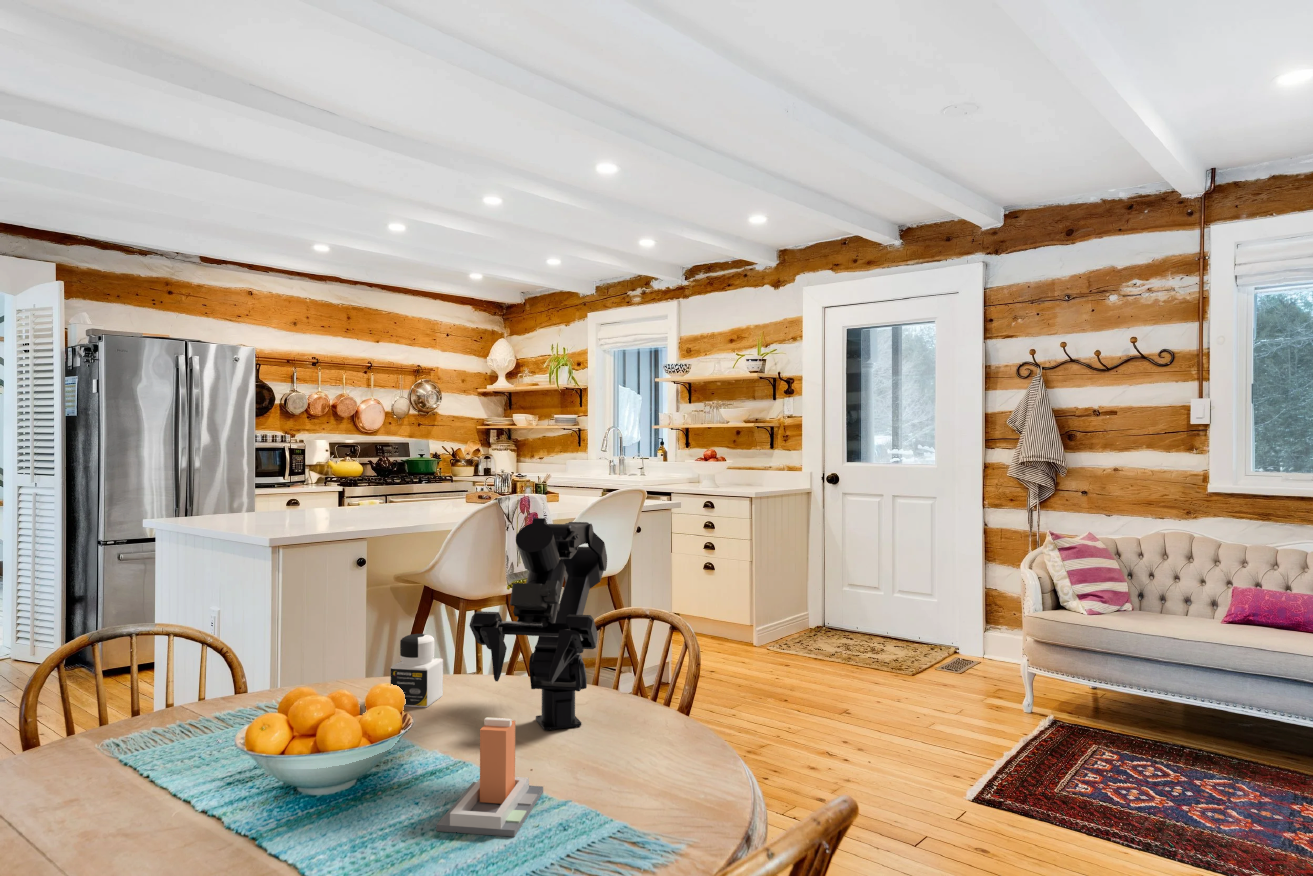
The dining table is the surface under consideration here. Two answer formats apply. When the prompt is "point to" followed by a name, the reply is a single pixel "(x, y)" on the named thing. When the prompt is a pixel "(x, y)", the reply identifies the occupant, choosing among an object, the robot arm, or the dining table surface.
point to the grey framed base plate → (491, 811)
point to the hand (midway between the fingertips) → (523, 681)
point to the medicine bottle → (418, 671)
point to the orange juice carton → (497, 759)
